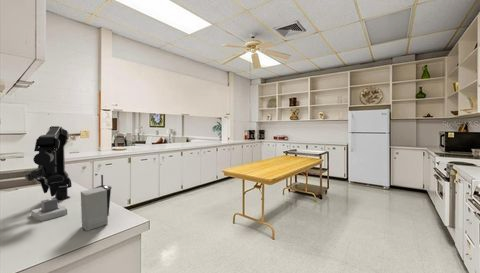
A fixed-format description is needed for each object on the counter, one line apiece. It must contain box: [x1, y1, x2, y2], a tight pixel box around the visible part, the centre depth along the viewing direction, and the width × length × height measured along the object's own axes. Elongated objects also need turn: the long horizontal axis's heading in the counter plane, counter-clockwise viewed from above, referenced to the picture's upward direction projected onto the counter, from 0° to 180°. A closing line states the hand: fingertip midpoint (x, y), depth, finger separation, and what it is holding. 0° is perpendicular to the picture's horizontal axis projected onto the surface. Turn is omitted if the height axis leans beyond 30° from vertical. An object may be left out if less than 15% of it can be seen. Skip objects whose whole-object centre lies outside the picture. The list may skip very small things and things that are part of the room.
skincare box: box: [80, 187, 109, 232], centre depth 93 cm, size 8×7×16 cm
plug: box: [40, 197, 59, 213], centre depth 104 cm, size 4×5×7 cm
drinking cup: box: [92, 174, 112, 216], centre depth 103 cm, size 8×8×20 cm
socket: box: [30, 204, 68, 222], centre depth 104 cm, size 12×10×3 cm
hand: (49, 194), depth 104 cm, fingers open, 9 cm apart
